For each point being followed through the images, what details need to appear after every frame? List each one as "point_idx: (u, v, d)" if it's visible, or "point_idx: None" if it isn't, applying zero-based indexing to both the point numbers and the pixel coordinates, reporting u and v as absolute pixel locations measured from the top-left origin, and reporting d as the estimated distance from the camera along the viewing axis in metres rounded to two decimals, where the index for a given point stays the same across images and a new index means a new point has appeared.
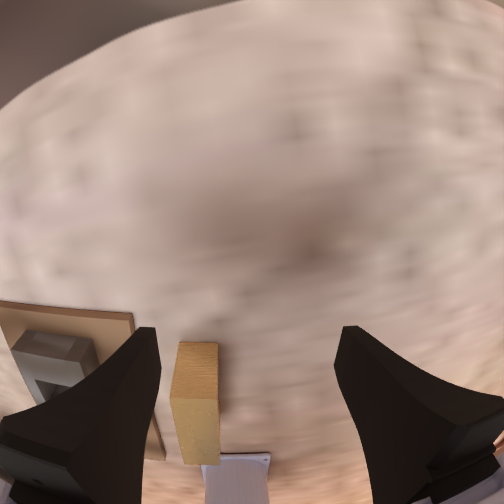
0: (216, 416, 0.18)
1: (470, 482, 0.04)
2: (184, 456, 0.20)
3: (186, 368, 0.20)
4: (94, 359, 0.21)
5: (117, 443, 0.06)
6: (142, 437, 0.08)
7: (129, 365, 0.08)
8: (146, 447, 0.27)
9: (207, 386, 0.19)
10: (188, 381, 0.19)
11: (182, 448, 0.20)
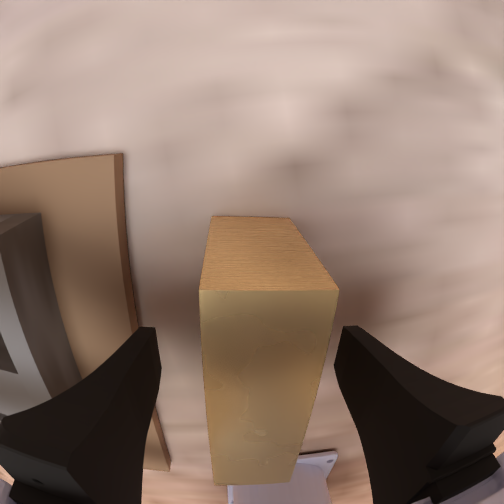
0: (323, 354, 0.07)
1: (470, 482, 0.04)
2: (216, 470, 0.09)
3: (236, 243, 0.09)
4: (38, 256, 0.10)
5: (117, 443, 0.06)
6: (142, 438, 0.08)
7: (129, 365, 0.08)
8: None
9: (300, 267, 0.08)
10: (247, 260, 0.08)
11: (215, 453, 0.09)
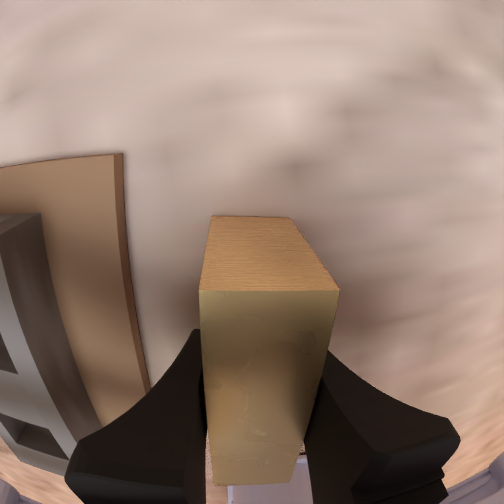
0: (323, 354, 0.07)
1: None
2: (216, 471, 0.09)
3: (236, 243, 0.09)
4: (38, 256, 0.10)
5: (197, 451, 0.06)
6: (204, 442, 0.08)
7: (199, 369, 0.08)
8: None
9: (300, 267, 0.08)
10: (247, 260, 0.08)
11: (215, 454, 0.08)
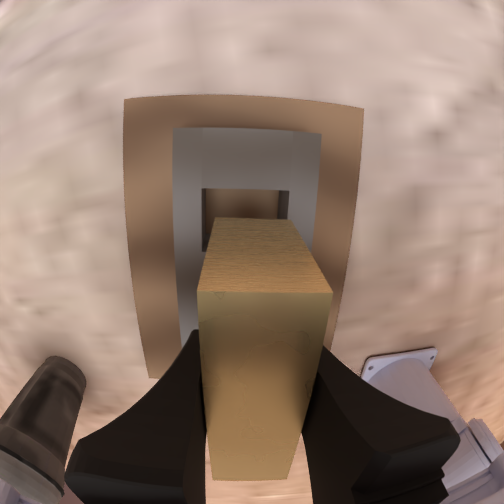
0: (317, 354, 0.07)
1: None
2: (214, 465, 0.09)
3: (236, 244, 0.09)
4: None
5: (197, 451, 0.06)
6: (204, 442, 0.08)
7: (199, 369, 0.08)
8: None
9: (297, 270, 0.08)
10: (246, 262, 0.08)
11: (213, 448, 0.09)
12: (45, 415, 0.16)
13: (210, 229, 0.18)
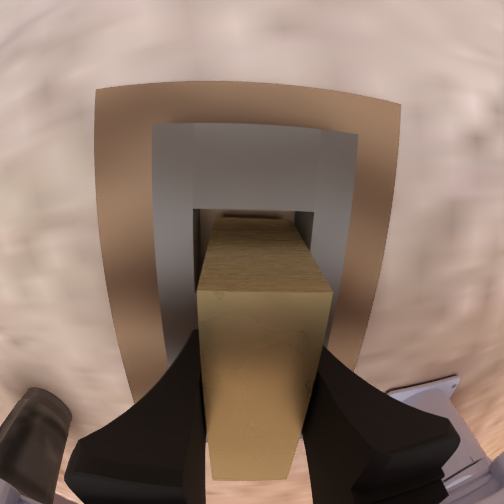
0: (317, 354, 0.07)
1: None
2: (214, 465, 0.09)
3: (236, 244, 0.09)
4: None
5: (197, 451, 0.06)
6: (204, 442, 0.08)
7: (199, 369, 0.08)
8: None
9: (297, 270, 0.08)
10: (245, 262, 0.08)
11: (213, 448, 0.09)
12: (26, 458, 0.12)
13: None
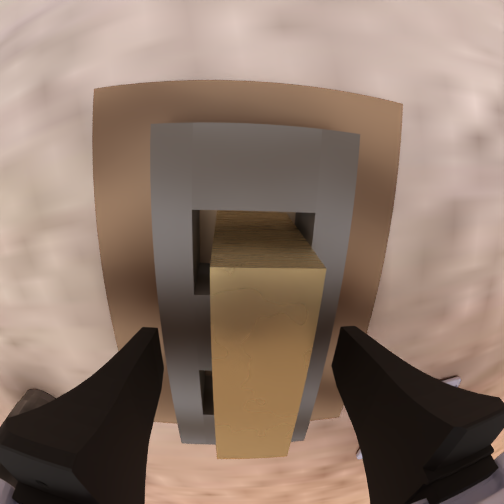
0: (314, 325, 0.09)
1: (467, 484, 0.04)
2: (219, 442, 0.10)
3: (239, 232, 0.10)
4: None
5: (121, 444, 0.06)
6: (145, 438, 0.08)
7: (132, 365, 0.08)
8: (324, 394, 0.18)
9: (294, 251, 0.09)
10: (249, 245, 0.09)
11: (218, 423, 0.10)
12: None
13: (206, 258, 0.14)
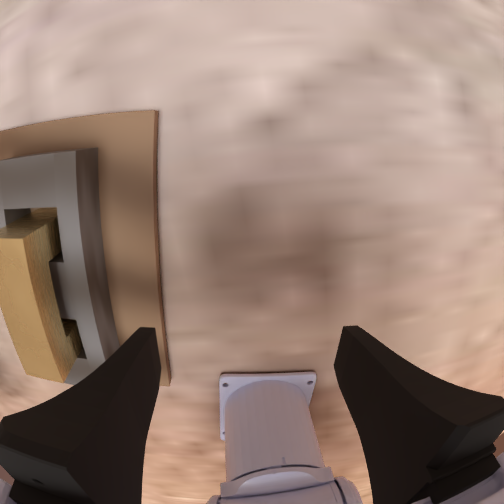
0: (28, 274, 0.12)
1: (470, 482, 0.04)
2: (20, 357, 0.14)
3: (23, 221, 0.14)
4: (94, 175, 0.16)
5: (117, 443, 0.06)
6: (142, 438, 0.08)
7: (129, 365, 0.08)
8: None
9: (26, 230, 0.12)
10: (13, 228, 0.13)
11: (13, 340, 0.13)
12: None
13: None
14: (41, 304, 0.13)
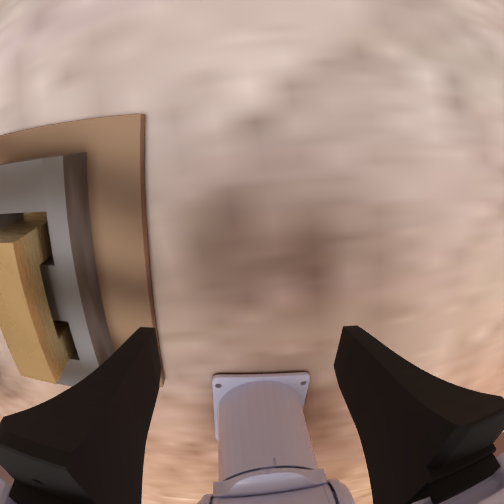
0: (18, 277, 0.12)
1: (470, 482, 0.04)
2: (15, 359, 0.14)
3: (14, 225, 0.14)
4: (82, 179, 0.16)
5: (117, 443, 0.06)
6: (142, 438, 0.08)
7: (129, 365, 0.08)
8: None
9: (16, 235, 0.12)
10: (5, 232, 0.13)
11: (7, 342, 0.13)
12: None
13: None
14: (32, 306, 0.13)
